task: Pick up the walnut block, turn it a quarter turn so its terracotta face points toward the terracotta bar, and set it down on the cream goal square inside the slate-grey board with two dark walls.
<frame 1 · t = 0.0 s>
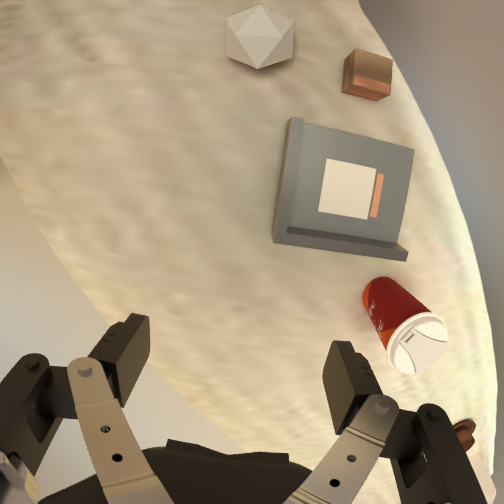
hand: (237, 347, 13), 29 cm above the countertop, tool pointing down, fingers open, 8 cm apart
cup and saucer: (454, 432, 56), on the countertop
die: (259, 47, 34), on the countertop
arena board: (346, 188, 39), on the countertop
walnut block: (360, 80, 35), on the countertop
coffee cup: (380, 294, 44), on the countertop
milk: (461, 466, 63), on the countertop
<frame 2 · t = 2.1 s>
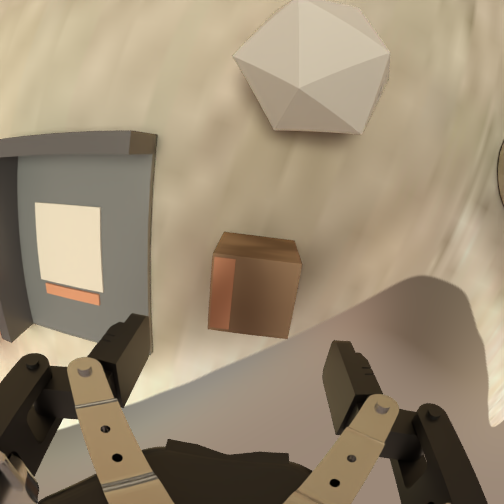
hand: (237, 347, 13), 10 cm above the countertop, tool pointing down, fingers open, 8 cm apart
die: (308, 80, 19), on the countertop
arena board: (71, 244, 23), on the countertop
walnut block: (255, 268, 23), on the countertop
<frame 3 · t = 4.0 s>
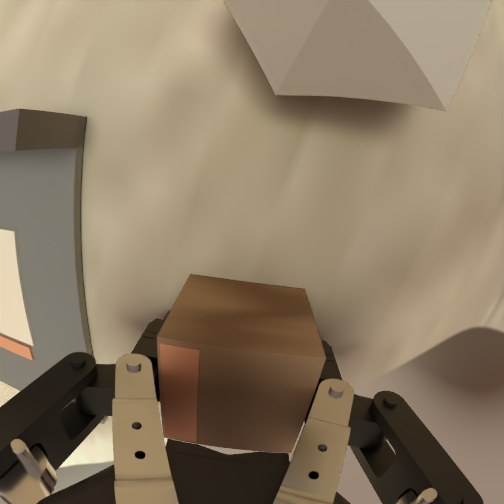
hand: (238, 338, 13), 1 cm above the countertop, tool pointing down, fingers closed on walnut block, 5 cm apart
die: (330, 28, 10), on the countertop
walnut block: (241, 330, 14), on the countertop, touching gripper
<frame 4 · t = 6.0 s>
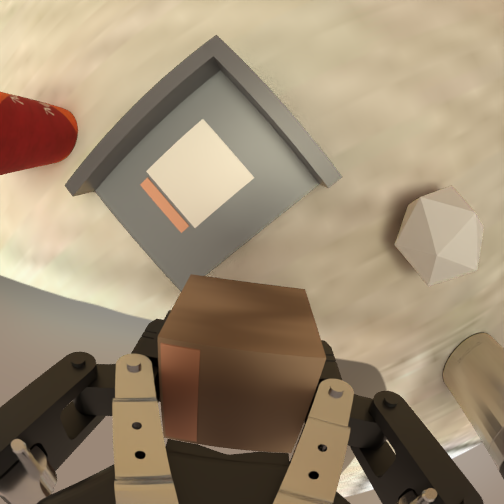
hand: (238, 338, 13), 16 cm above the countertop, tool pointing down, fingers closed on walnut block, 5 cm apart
die: (422, 225, 28), on the countertop
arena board: (200, 173, 27), on the countertop
walnut block: (241, 330, 14), point 15 cm above the countertop, touching gripper
coffee cup: (57, 135, 26), on the countertop
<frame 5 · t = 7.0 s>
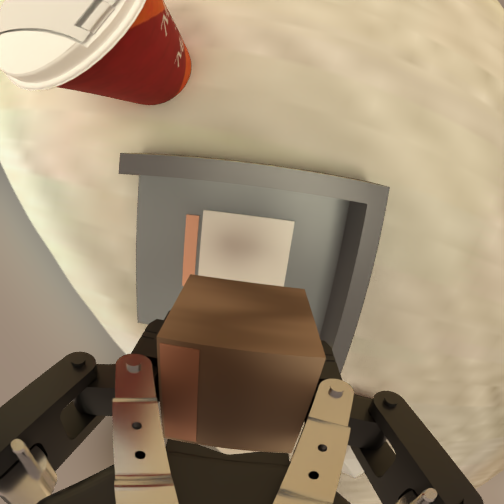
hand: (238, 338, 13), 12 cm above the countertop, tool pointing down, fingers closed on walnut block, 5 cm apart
die: (347, 413, 31), on the countertop
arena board: (244, 256, 25), on the countertop
walnut block: (240, 330, 14), point 12 cm above the countertop, touching gripper
coffee cup: (156, 71, 21), on the countertop
when the fingers open (2 cm above the countertop, at t = 8.5 s): walnut block stays where it is, resting on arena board.
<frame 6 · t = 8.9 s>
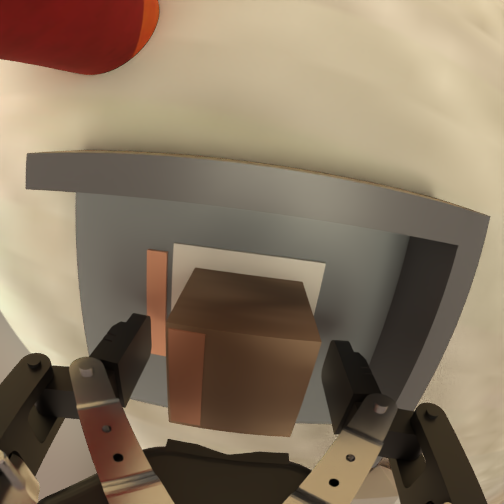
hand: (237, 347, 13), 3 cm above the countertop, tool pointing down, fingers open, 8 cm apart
die: (368, 478, 21), on the countertop
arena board: (241, 313, 16), on the countertop
walnut block: (242, 321, 15), point 1 cm above the countertop, touching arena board
coffee cup: (107, 26, 11), on the countertop
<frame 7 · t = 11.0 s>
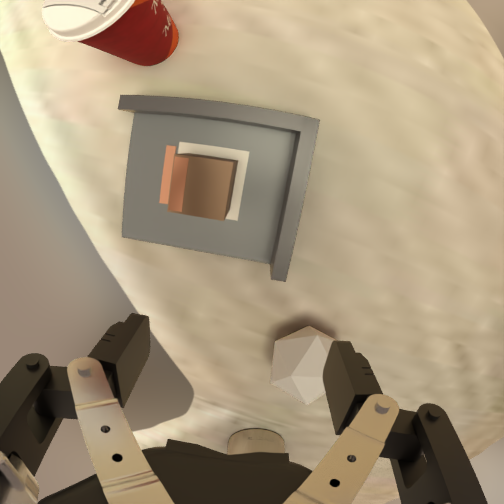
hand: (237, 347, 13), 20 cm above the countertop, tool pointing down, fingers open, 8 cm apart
die: (304, 344, 37), on the countertop
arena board: (209, 180, 30), on the countertop
walnut block: (209, 181, 30), point 1 cm above the countertop, touching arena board
coffee cup: (152, 42, 26), on the countertop
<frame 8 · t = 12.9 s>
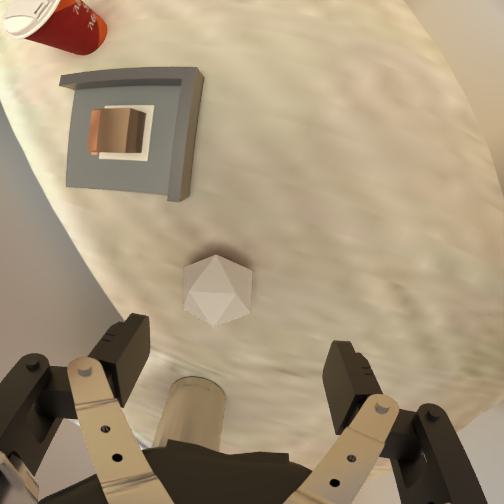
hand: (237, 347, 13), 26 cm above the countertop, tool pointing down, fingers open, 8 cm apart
die: (220, 277, 40), on the countertop
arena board: (127, 132, 34), on the countertop
walnut block: (125, 132, 34), point 1 cm above the countertop, touching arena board
coffee cup: (89, 37, 30), on the countertop
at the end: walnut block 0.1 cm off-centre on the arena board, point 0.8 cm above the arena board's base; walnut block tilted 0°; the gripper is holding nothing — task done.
